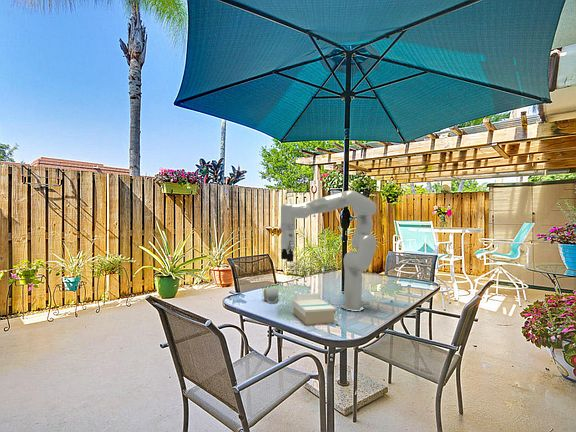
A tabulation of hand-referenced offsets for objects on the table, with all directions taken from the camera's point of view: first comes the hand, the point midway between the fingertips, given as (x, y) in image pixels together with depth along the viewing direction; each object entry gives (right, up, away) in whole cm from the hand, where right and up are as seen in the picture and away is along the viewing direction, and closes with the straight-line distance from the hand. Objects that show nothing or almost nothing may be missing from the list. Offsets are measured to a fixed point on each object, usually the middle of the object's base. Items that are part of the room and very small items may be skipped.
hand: (287, 260), depth 159 cm
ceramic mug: (-9, -27, +21) cm, 35 cm away
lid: (+13, -23, -9) cm, 28 cm away
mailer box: (+13, -27, -9) cm, 31 cm away
